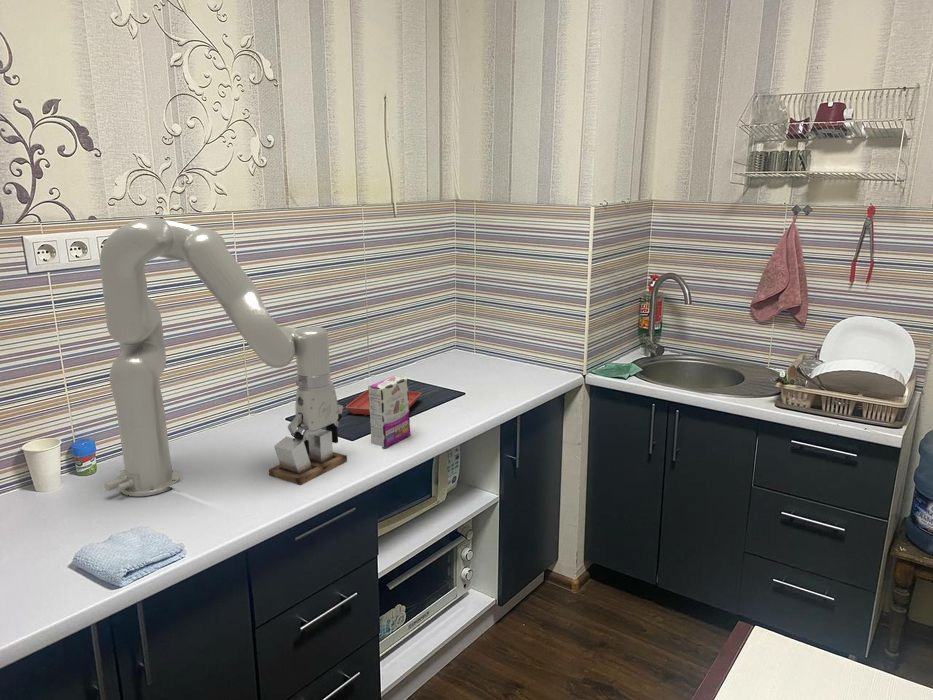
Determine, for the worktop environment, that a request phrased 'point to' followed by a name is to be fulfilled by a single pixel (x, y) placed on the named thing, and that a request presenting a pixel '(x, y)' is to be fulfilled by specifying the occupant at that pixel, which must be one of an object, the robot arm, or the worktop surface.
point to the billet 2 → (320, 446)
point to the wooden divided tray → (309, 475)
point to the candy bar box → (389, 411)
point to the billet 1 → (293, 455)
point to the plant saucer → (362, 403)
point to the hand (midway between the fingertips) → (318, 448)
